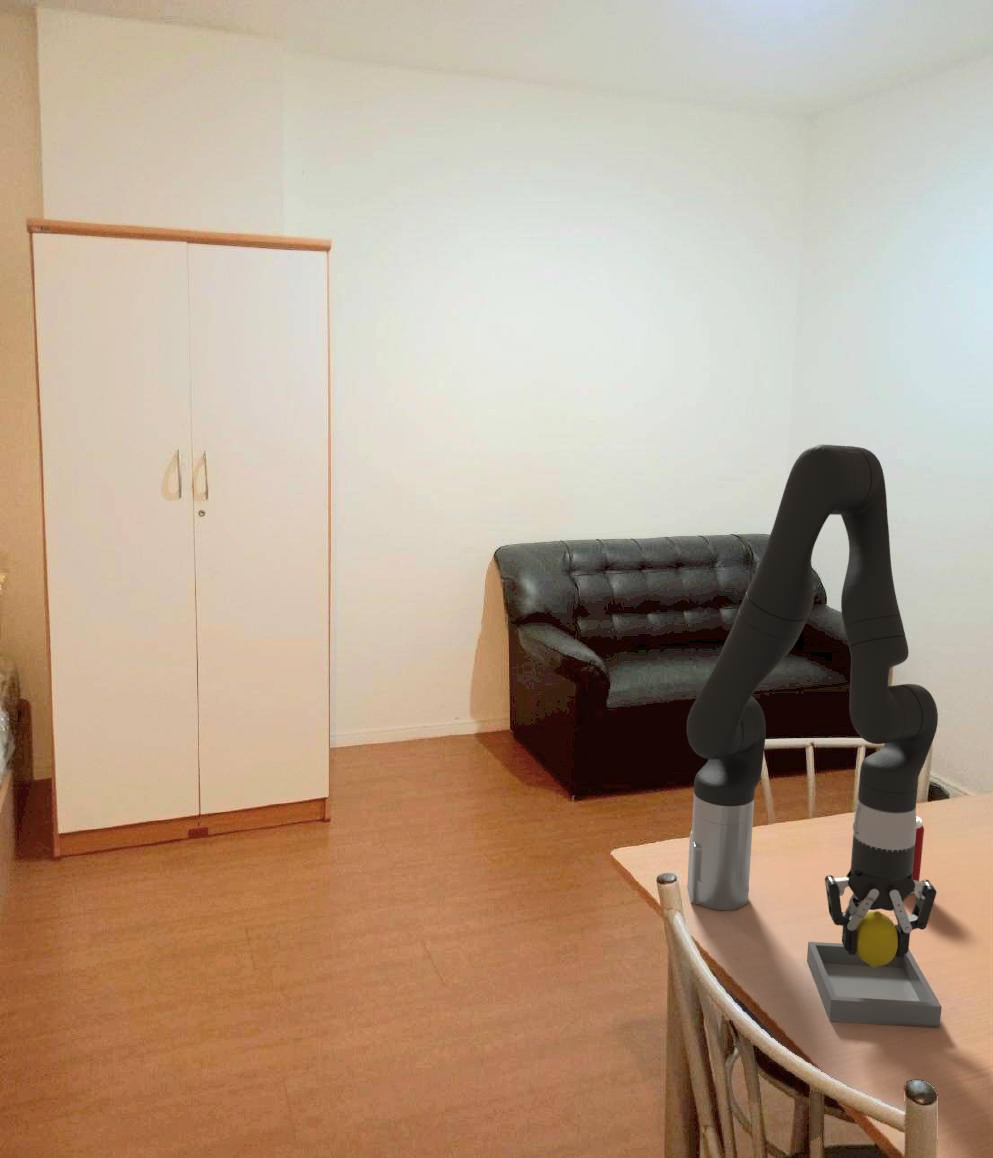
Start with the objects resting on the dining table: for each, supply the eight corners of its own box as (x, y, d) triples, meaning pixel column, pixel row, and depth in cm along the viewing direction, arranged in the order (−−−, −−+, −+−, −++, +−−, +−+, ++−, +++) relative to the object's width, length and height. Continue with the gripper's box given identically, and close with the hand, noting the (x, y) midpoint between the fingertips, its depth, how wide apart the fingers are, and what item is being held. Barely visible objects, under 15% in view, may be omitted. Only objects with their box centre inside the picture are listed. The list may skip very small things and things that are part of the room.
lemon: (875, 983, 129) (879, 926, 127) (842, 962, 134) (846, 907, 132) (904, 972, 131) (909, 916, 130) (871, 951, 136) (875, 897, 135)
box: (829, 1020, 127) (831, 999, 127) (806, 961, 140) (808, 941, 140) (939, 1027, 126) (941, 1006, 125) (906, 966, 139) (907, 947, 139)
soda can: (921, 897, 158) (928, 827, 156) (886, 893, 159) (893, 824, 157) (914, 881, 163) (921, 813, 161) (881, 878, 164) (887, 810, 162)
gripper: (834, 845, 126) (825, 966, 129) (951, 850, 125) (940, 972, 128) (820, 820, 133) (812, 935, 136) (931, 824, 132) (920, 941, 135)
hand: (874, 952), depth 132 cm, fingers closed on lemon, 5 cm apart
